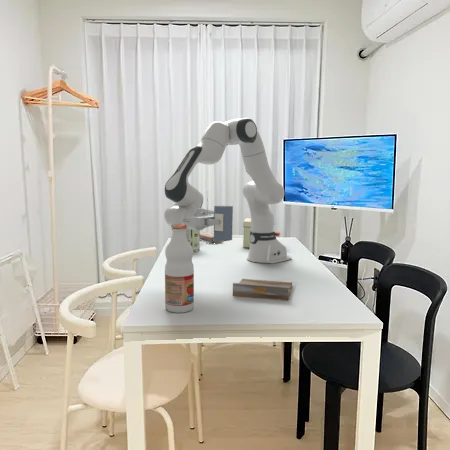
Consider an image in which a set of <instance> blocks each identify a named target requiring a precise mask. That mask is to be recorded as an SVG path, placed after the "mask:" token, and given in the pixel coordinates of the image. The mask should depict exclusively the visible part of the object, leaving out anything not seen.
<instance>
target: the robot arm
mask: <svg viewBox="0 0 450 450" xmlns="http://www.w3.org/2000/svg"><path fill="white" fill-rule="evenodd" d="M235 145H239V147H240V153H241V156H242V157H241V158H242V161H243V165H244V168H245V172H246V174H247V175H248V176H249V177H250V178H251V180H250V181H247V182H246V183H245V184H244V186H243V188H242V194H243V198H245V199H246V201H247V204H248V208H249V213H250V219H251V231H250V248H249V249H248V254H247V258H246V260H247V261H249V262H253V263H260V264H261V263H263V264H276V263H281V262H284V261H285V262H286V261H289V260H292V256H291V255H288V252H287V247H286V246H285V244H283V243H282V242H281V241H279V239H277V237H280V236H281V232H278V231H276V232H275V231H274V227H275V226H274V225H275V223H274V221H275V218H274V214H273V213H272V211H271V209H270V207H269V206H270V205H275V204H279V203H280V202H282V201H283V199H284V197H285V189H284V186H283V185H282V184H281V183H280V182H279V181H278V180H277V179H276V177H275V175H274V174H273V172H272V170H271V167H270V165H269V161H268V158H267V157H268V156H267V152H266V149H265V145H264V142H263V140H262V138H261V135H260V133H259V132H258V128H257V124H256V123H255V121H254V120H253V119H252V118H249V117H242V118H234V119H231V120H227V121H223V122H222V121H219V120H218V121H212V122H211V123H210V124H209V126H208V127H207V128H206V130H205V132H204V134H203V136H202V137H201V140H200V141H199V143H198V144H197V145H194V146H192V147H190V149H189V150H188V151H187V153H186V154H185V156H184V158H183V159H182V160H181V162H180V164H179V165H178V167H177V168H176V170H175V171H174V173H173V174H172V175H171V176H170V178H169V179H168V180H167V181H166V182H165V185H164V195H165V197H166V199H169V200H171V201H172V202H173V203H174V204H172V206H170V207H168V208H166V209H165V211H164V217H163V218H164V220H165V222H166V224H168V226H170V227H171V226H172V225H173V224H186V225H187V228H188V229H192V230H200V231H203V230H204V229H206V228H208V227H209V228H210V227H212V226H213V227H214V224H216V225H218V224H221V221H220V220H218V219H214V210H213V209H205V208H203V207H202V206H203V204H204V196H203V194H202V193H201V191H199V190H198V189H197V188H195V187H194V186H193V185H192V184H191V183H190V182H189V180H188V179H189V177H190V176H191V173H192V172H193V170H194V169H195V167H196V165H197V164H203V165H209V166H210V165H214V164H216V163H219V162H220V160H221V159H222V157H223V155H224V152H225V150H226V147H227V146H235Z"/></svg>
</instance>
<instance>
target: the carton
mask: <svg viewBox="0 0 450 450" xmlns="http://www.w3.org/2000/svg"><path fill="white" fill-rule="evenodd" d="M213 209H214V219H218V220H220V221H221V224H218V225H216V224H214V225H213V234H214V240H217V241H224V242H228V241H232V240H233V215H234V213H233V212H234V206H233V205H232V206H231V205H215V206H213Z"/></svg>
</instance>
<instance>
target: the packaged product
mask: <svg viewBox="0 0 450 450" xmlns="http://www.w3.org/2000/svg"><path fill="white" fill-rule="evenodd" d="M202 241H203V242H202ZM200 242H202V243H204V242H206V243H205V244H208V243H209V244H208V245H215V244H214V243H218V244H223V243H222V242H225V241H217V240H214V233H211V232H207V231H205V232H202V233H200Z"/></svg>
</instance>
